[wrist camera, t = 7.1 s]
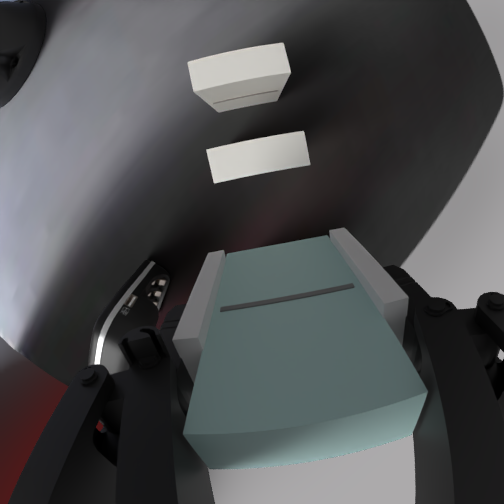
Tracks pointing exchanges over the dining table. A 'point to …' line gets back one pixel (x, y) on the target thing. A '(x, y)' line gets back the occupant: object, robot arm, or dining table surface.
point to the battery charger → (128, 315)
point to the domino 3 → (297, 364)
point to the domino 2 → (258, 156)
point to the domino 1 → (241, 76)
